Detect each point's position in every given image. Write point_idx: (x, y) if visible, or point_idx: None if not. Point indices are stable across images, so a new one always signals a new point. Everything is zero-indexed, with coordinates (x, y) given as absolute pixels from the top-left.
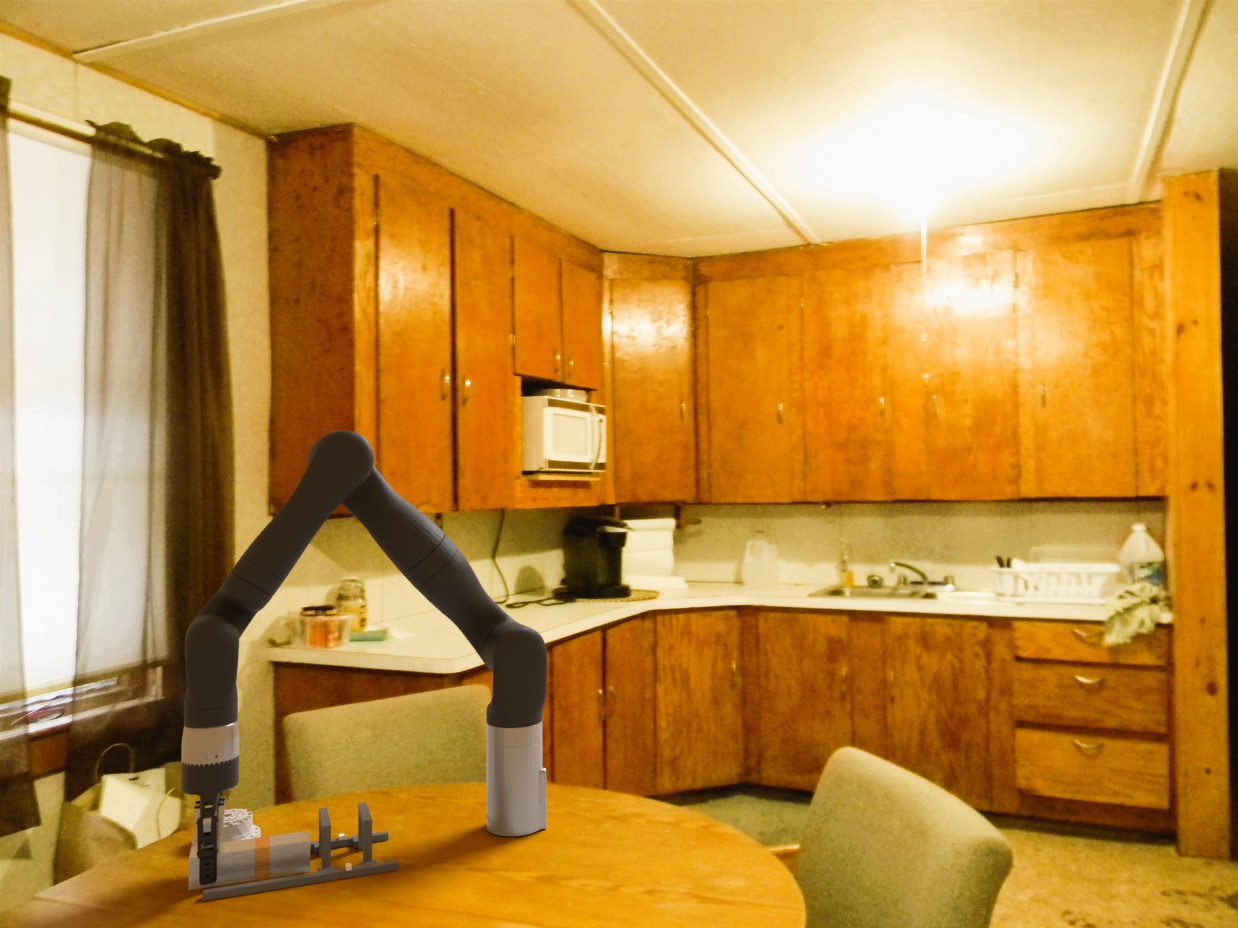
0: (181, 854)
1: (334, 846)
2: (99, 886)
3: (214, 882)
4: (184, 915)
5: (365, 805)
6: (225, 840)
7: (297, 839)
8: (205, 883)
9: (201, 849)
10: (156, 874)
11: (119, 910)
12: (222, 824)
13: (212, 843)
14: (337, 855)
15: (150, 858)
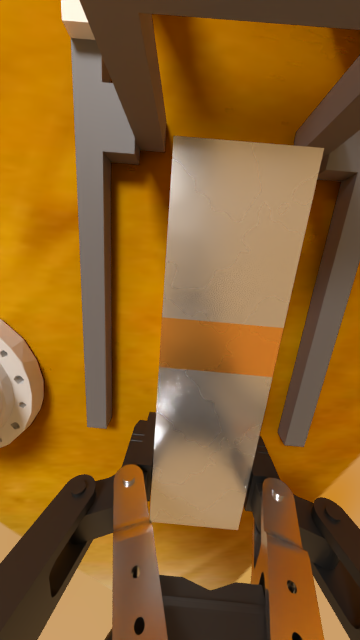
0: (21, 455)
1: (108, 80)
2: None
3: None
4: (340, 461)
5: None
6: (7, 397)
7: (265, 210)
8: None
9: (329, 567)
10: None
11: (249, 534)
12: (152, 535)
13: (148, 478)
14: (183, 85)
15: (26, 497)
